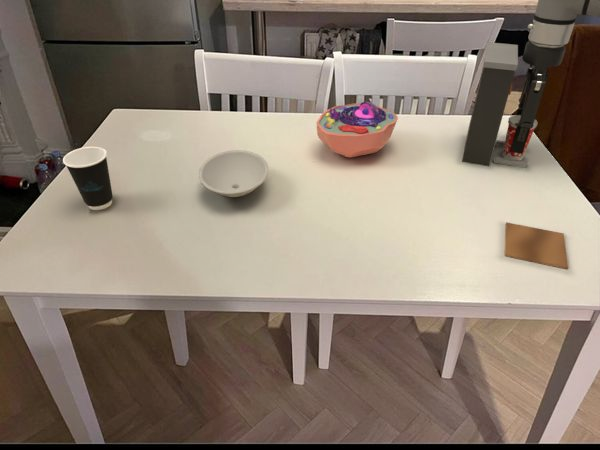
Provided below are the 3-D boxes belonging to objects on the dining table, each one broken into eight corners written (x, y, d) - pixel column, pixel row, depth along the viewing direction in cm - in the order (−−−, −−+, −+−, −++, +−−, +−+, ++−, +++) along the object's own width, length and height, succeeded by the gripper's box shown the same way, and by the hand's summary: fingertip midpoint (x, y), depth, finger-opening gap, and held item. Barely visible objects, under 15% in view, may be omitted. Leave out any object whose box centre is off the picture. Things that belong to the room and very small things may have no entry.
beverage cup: (495, 149, 113) (511, 93, 104) (521, 150, 112) (538, 94, 104) (503, 162, 108) (520, 104, 99) (530, 162, 107) (549, 104, 99)
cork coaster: (563, 234, 86) (563, 233, 86) (567, 269, 78) (568, 267, 78) (505, 223, 89) (506, 222, 88) (504, 256, 81) (505, 254, 81)
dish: (271, 212, 92) (269, 191, 89) (198, 216, 91) (194, 195, 88) (268, 168, 106) (267, 148, 103) (205, 170, 105) (202, 151, 102)
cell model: (301, 147, 114) (300, 103, 107) (364, 127, 123) (368, 86, 116) (342, 177, 103) (344, 130, 96) (409, 153, 111) (416, 108, 104)
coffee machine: (525, 144, 115) (556, 48, 101) (526, 172, 104) (560, 69, 90) (465, 136, 119) (487, 42, 105) (460, 162, 108) (484, 61, 94)
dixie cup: (93, 219, 91) (76, 170, 84) (72, 205, 95) (54, 157, 88) (128, 201, 95) (114, 154, 89) (106, 188, 100) (92, 142, 93)
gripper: (526, 28, 103) (500, 123, 117) (527, 55, 88) (497, 161, 101) (563, 31, 101) (532, 127, 115) (571, 59, 86) (534, 167, 99)
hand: (516, 143), depth 108 cm, fingers open, 8 cm apart
